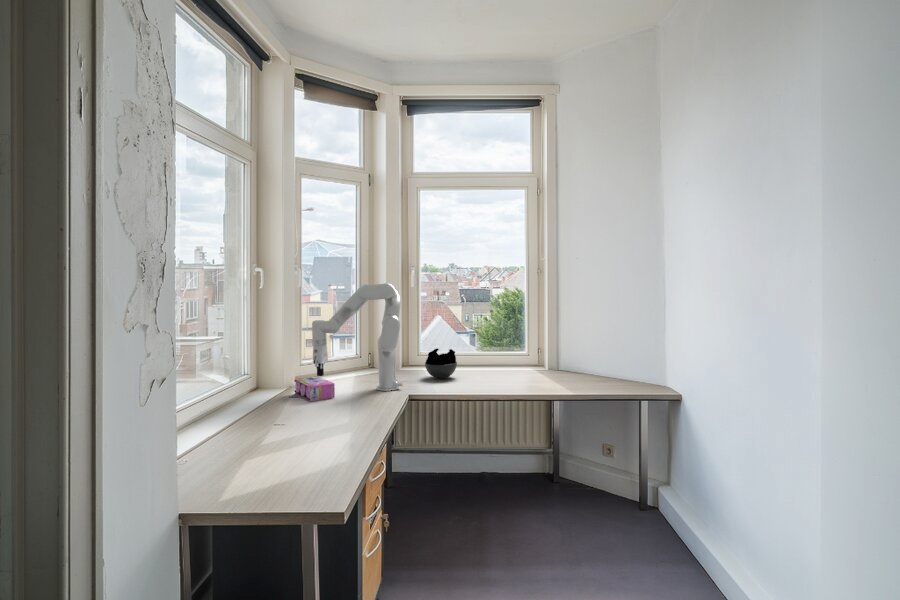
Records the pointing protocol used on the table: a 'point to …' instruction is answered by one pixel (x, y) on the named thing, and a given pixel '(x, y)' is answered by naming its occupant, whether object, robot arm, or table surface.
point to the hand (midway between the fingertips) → (320, 375)
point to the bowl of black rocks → (441, 364)
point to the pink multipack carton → (315, 388)
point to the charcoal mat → (295, 396)
